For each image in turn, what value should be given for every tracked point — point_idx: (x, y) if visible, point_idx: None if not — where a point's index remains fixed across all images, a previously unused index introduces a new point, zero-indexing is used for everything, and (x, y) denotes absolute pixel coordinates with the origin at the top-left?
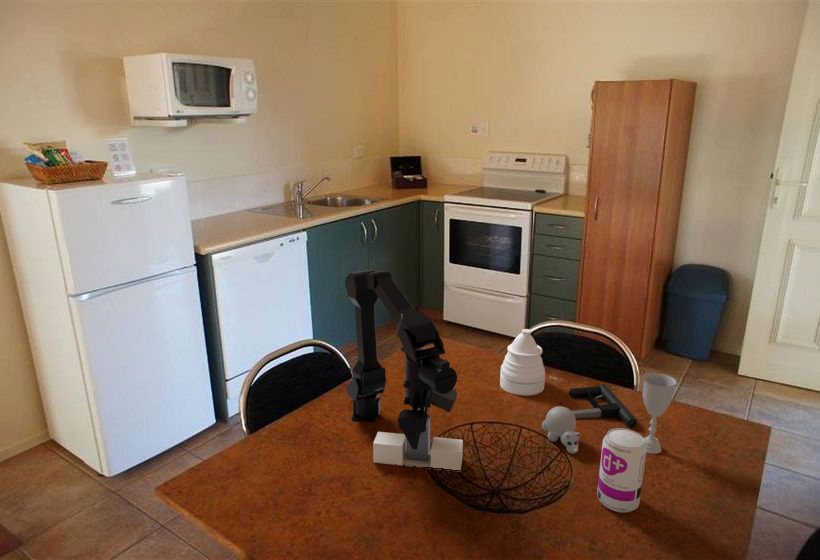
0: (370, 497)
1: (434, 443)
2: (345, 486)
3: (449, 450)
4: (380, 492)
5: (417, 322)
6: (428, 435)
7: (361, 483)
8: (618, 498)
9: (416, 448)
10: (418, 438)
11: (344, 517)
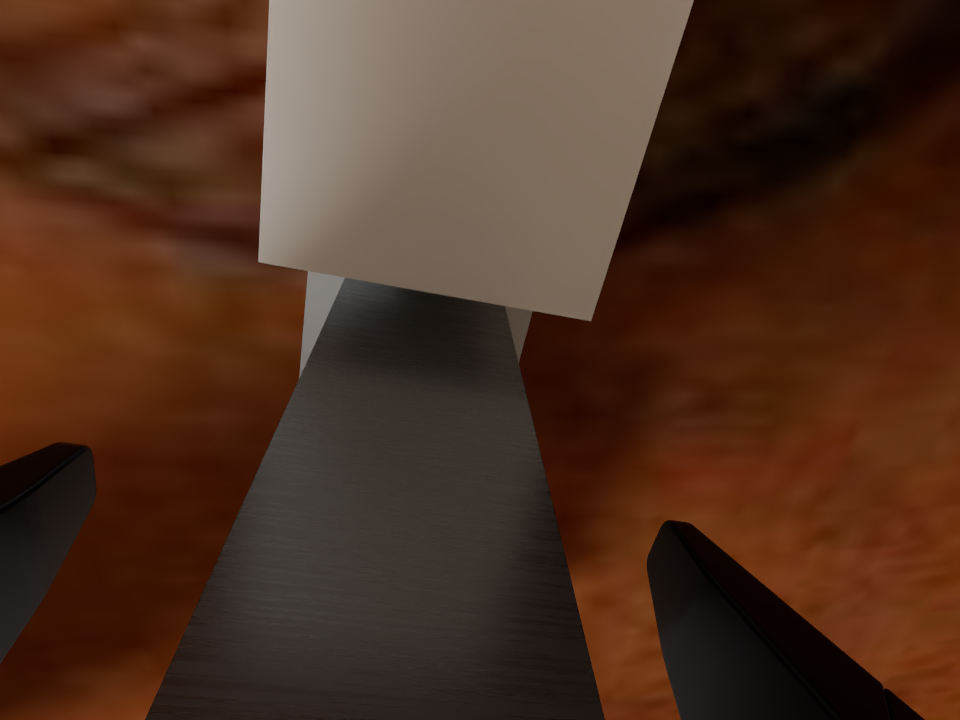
0: (804, 611)
1: (448, 262)
2: (670, 715)
3: (679, 12)
4: (773, 569)
5: None
6: (486, 434)
7: (659, 658)
8: None
9: (694, 536)
10: (898, 710)
11: (922, 693)
